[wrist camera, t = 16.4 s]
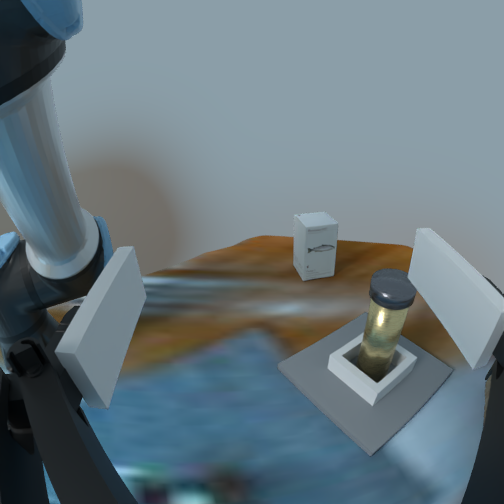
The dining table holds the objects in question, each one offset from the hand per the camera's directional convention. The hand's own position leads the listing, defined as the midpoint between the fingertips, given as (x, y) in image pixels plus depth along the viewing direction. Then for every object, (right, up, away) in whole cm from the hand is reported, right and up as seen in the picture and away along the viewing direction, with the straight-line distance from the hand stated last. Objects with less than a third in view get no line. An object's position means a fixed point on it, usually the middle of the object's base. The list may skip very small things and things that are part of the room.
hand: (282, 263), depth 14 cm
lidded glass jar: (+16, -17, +28) cm, 36 cm away
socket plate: (+16, -18, +28) cm, 37 cm away
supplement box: (+12, -4, +56) cm, 57 cm away
